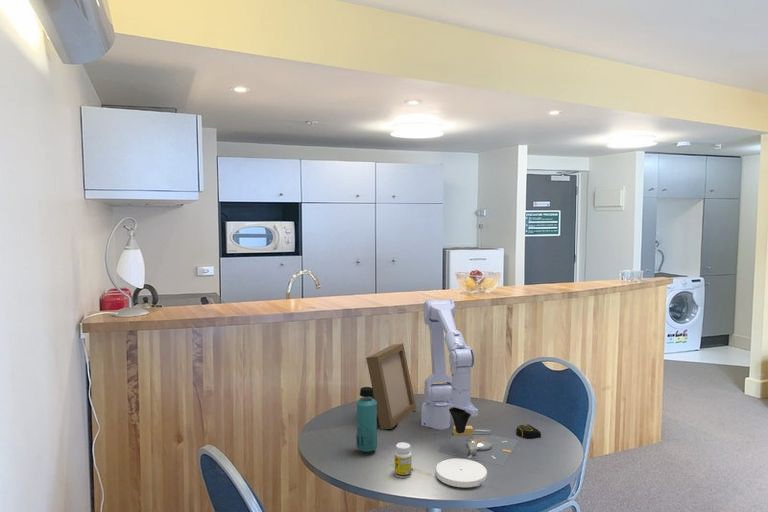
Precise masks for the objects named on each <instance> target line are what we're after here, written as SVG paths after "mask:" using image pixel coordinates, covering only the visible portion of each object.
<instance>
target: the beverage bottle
mask: <svg viewBox="0 0 768 512" xmlns="http://www.w3.org/2000/svg"><path fill="white" fill-rule="evenodd" d="M359 396H360V397H361V398H359V399H358V400H356V416H355V417H356V418H355V421H356V433H355V434H356V435H355V438H356V442H355V443H356V444H355V446H356V449H357V450H359V451H361V452H373V451H375V450H376V449H377V447H378V432H377V431H378V426H377V425H378V421H377V419H378V415H377V402H376V401H375V400H374V399H373V398H371V396H373V388H372V386H363V387H360V392H359Z"/></svg>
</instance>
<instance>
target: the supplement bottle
mask: <svg viewBox="0 0 768 512" xmlns="http://www.w3.org/2000/svg"><path fill="white" fill-rule="evenodd" d="M412 459H413V458H412V451H411V444H410V443H407V442H402V441H401V442H398V443H397V444H396V445H395V452H394V475H395V476H396V477H397V478H399V479H406V478H409V477H411V475H412V461H413V460H412Z"/></svg>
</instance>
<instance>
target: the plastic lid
mask: <svg viewBox="0 0 768 512" xmlns="http://www.w3.org/2000/svg"><path fill="white" fill-rule="evenodd" d="M435 476H436V479H438V480H439V481H440V482H442V483H443V484H446V485H448V486H452V487H457V488H474V487H478V486H480V485H482V483H483V482H484V481H486V479H487V477H488V470H487V468H486V467H485V466H484V465H483V464H481V463H480V462H478V461H477V460H473V459H469V458H448V459H444V460H442V461H440V462H438V463H437V465H436V466H435Z"/></svg>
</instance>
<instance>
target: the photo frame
mask: <svg viewBox="0 0 768 512" xmlns="http://www.w3.org/2000/svg"><path fill="white" fill-rule="evenodd" d="M406 356H407V355H406V350H405V346H404V343H396V344H391V345H389V346H387V347H386V348H383V349H381V350H379V351H377V352H375V353H372V354H371V355H369V356H367V357H365V358H366V363H367V369H368V374H369V379H370V384H371V388H373V396H371V398H373V399H374V400H375V401H376V402H377V419H378V423H379V425H378V426H379V427H380V428H379V429H380V430H391V429H393V428H394V427H396V426H397V425H398V424H399V423H400V422H401V421H402V420H403V419H405V418H406V417H407V416H408V415H410V414H412V413H413V412H414V411H415V410H416V409H417V405H416V401H415V395H414V390H413V386H412V380H411V376H410V371H409V365H408V361H407V357H406Z"/></svg>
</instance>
